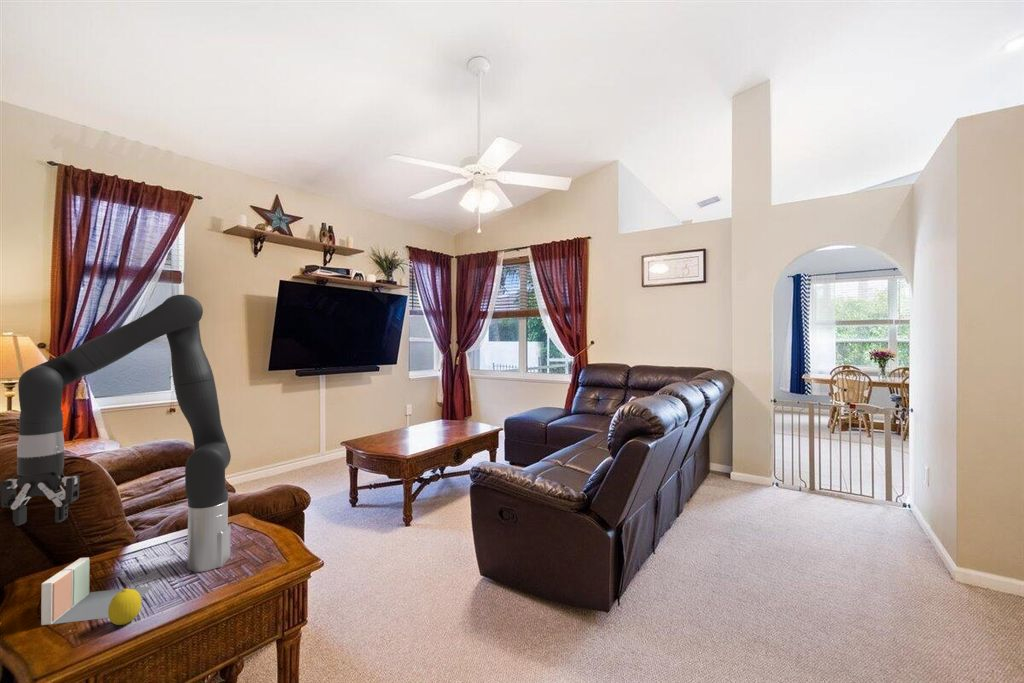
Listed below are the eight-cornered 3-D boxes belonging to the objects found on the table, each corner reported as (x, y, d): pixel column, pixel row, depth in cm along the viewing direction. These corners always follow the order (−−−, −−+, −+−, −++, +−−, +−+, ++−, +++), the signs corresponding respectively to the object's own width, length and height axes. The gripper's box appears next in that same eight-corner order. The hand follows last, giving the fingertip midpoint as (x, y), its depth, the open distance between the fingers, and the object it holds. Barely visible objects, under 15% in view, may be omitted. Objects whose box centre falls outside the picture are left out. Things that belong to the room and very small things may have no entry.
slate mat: (153, 588, 112) (153, 585, 112) (121, 618, 100) (121, 616, 100) (82, 595, 108) (82, 592, 108) (40, 628, 96) (40, 625, 96)
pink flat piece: (71, 608, 102) (72, 569, 102) (52, 623, 97) (53, 582, 97) (60, 609, 102) (61, 570, 102) (41, 625, 96) (41, 583, 96)
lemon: (121, 618, 100) (121, 582, 100) (147, 617, 100) (147, 581, 100) (100, 634, 94) (101, 596, 94) (128, 633, 95) (129, 595, 95)
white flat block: (90, 594, 108) (90, 557, 108) (73, 607, 103) (73, 568, 102) (79, 595, 107) (80, 558, 107) (62, 608, 102) (62, 569, 102)
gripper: (89, 446, 109) (88, 514, 109) (17, 449, 105) (16, 518, 105) (66, 454, 101) (65, 526, 101) (-12, 457, 98) (-13, 532, 98)
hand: (40, 522), depth 103 cm, fingers open, 7 cm apart
